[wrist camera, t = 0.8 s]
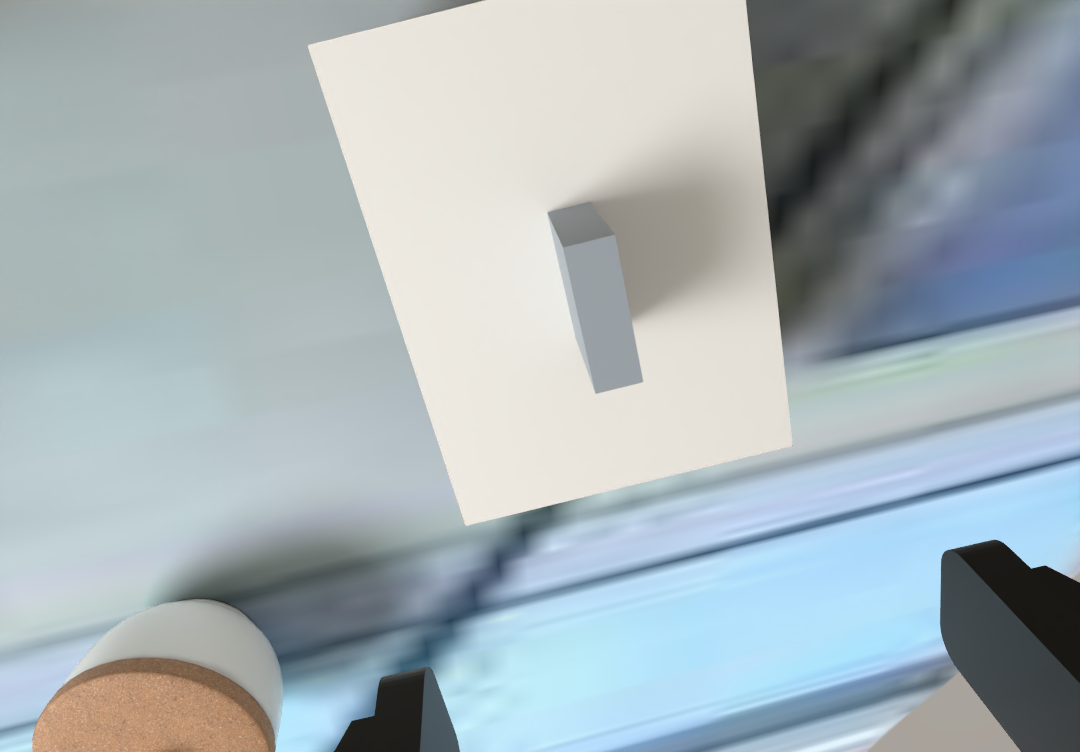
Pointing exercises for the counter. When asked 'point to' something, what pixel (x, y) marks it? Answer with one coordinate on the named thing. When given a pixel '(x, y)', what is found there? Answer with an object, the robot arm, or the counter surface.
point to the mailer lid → (570, 237)
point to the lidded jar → (170, 686)
